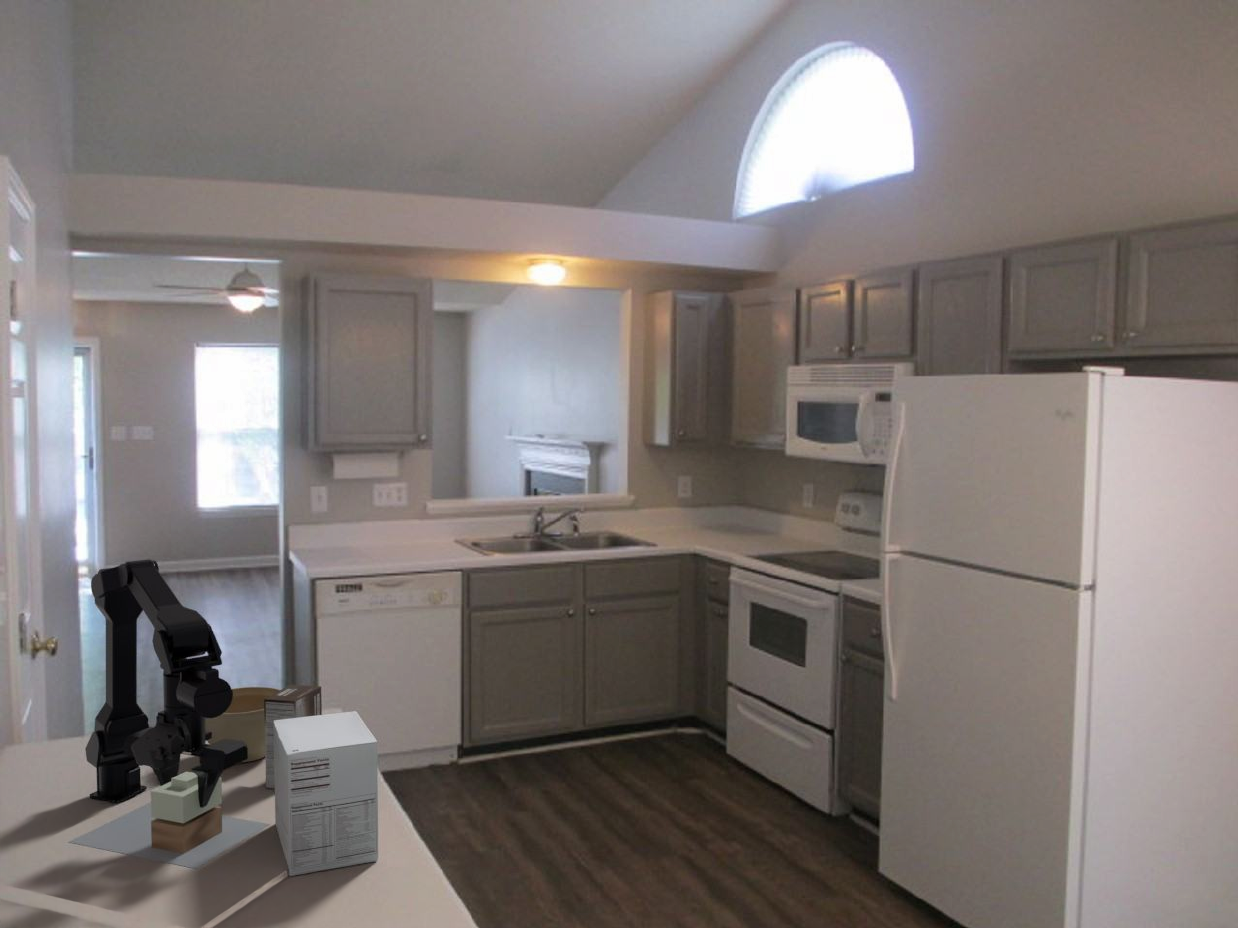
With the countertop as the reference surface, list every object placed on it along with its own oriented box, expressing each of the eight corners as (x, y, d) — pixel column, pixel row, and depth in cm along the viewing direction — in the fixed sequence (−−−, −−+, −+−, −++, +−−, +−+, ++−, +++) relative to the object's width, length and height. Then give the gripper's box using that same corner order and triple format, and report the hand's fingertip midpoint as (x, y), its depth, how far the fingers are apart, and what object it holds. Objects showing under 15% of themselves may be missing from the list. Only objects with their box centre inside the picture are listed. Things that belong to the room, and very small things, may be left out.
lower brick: (183, 853, 150) (182, 819, 150) (151, 847, 152) (150, 813, 152) (222, 831, 158) (221, 799, 157) (191, 825, 160) (190, 793, 159)
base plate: (68, 849, 154) (68, 841, 154) (150, 809, 169) (150, 801, 169) (196, 876, 146) (196, 868, 145) (270, 831, 161) (270, 824, 160)
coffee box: (291, 769, 187) (290, 683, 186) (323, 772, 186) (322, 685, 185) (264, 788, 178) (263, 697, 177) (298, 791, 177) (297, 700, 176)
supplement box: (381, 861, 151) (380, 741, 150) (287, 878, 145) (285, 754, 144) (358, 817, 167) (357, 708, 165) (273, 831, 161) (271, 718, 160)
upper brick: (183, 823, 150) (182, 788, 149) (151, 816, 152) (150, 782, 151) (222, 802, 157) (221, 769, 157) (191, 797, 159) (190, 764, 159)
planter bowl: (178, 763, 189) (177, 706, 189) (239, 736, 204) (238, 682, 204) (249, 775, 184) (247, 716, 183) (306, 746, 199) (305, 691, 198)
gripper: (92, 710, 149) (95, 814, 150) (195, 726, 143) (197, 834, 144) (151, 689, 159) (153, 787, 160) (249, 703, 153) (251, 804, 154)
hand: (186, 803), depth 154 cm, fingers closed on upper brick, 6 cm apart
